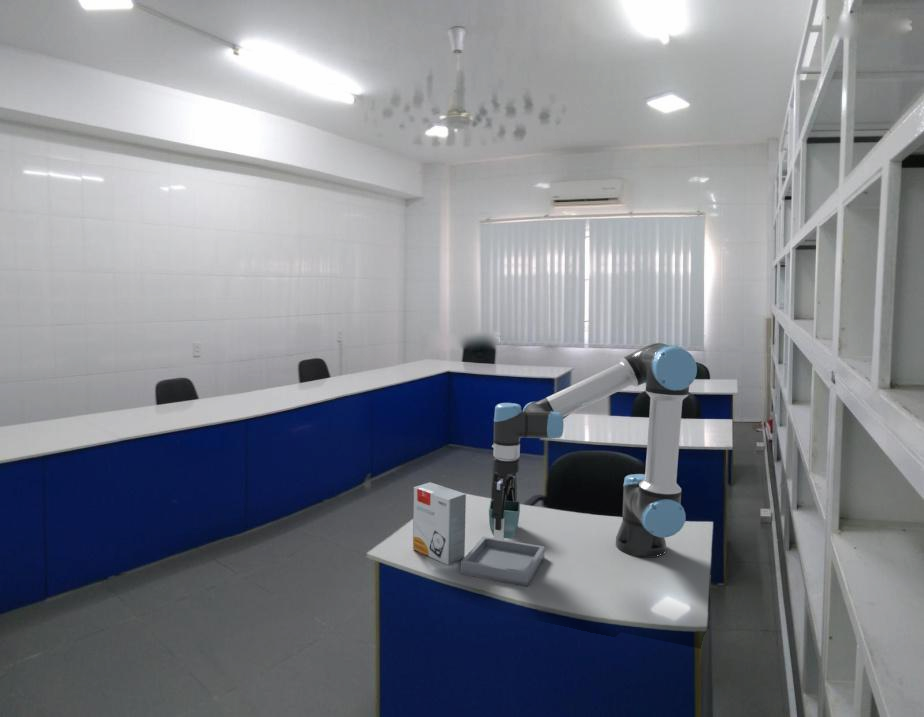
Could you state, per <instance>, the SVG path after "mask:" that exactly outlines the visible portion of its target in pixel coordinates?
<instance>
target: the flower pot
mask: <svg viewBox="0 0 924 717" xmlns="http://www.w3.org/2000/svg"><path fill="white" fill-rule="evenodd" d="M488 506H489V507H488V519H489V529H490V531H491V534H492V536H493V537H494V518H492V517H491V515H492V510H493V500H491V499H490V500H489V505H488ZM520 514H521V502H520V501H506V503H505V509H504V515H503V518H504V539H508V540H509V539H510V540H511V539H513V538H514V536H515V535H516V532H517V530H518V526H519V520H520Z"/></svg>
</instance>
